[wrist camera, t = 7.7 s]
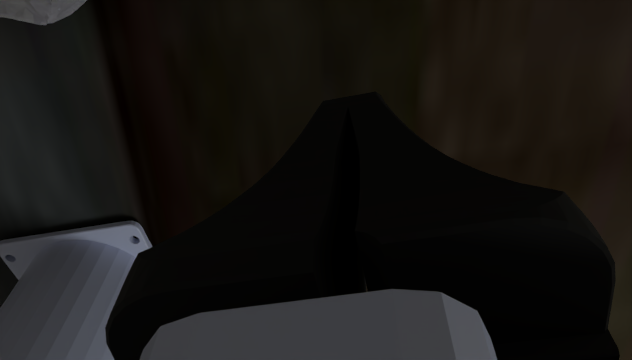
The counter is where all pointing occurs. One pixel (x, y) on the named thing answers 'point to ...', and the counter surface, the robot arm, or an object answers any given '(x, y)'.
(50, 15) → the stone block
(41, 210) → the counter surface
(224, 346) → the robot arm
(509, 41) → the counter surface
